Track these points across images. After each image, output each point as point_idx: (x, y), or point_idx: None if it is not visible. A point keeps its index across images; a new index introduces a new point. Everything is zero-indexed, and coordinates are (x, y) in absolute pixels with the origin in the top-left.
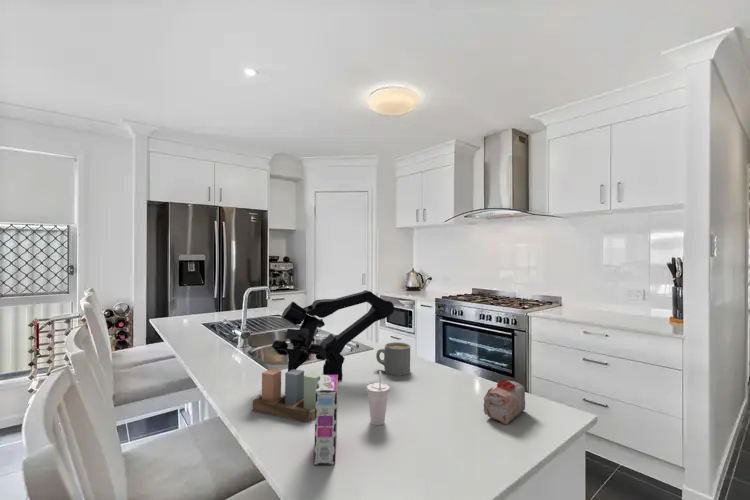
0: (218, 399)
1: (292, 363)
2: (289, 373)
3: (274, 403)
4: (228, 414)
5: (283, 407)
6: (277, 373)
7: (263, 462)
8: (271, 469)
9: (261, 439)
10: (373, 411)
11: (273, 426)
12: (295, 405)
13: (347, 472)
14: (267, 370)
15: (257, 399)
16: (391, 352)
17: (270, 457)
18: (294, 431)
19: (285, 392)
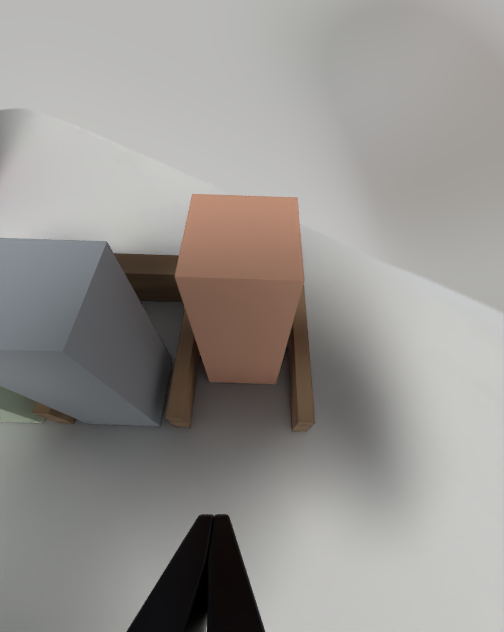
0: (498, 320)
1: (174, 630)
2: (65, 246)
3: (175, 266)
4: (338, 245)
5: (121, 255)
6: (184, 240)
7: (97, 138)
8: (72, 130)
9: (144, 184)
10: None
11: (143, 233)
12: None
13: None
14: (296, 241)
15: None
16: None
17: (89, 149)
18: (63, 230)
19: (151, 326)
